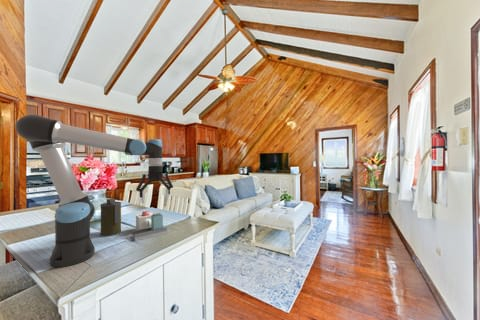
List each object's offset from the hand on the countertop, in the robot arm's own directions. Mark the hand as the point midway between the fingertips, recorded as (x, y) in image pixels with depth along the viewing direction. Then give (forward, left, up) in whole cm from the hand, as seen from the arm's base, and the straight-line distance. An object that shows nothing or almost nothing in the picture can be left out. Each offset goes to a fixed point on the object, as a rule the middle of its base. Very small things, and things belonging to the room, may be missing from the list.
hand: (155, 201), depth 116 cm
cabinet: (-3, +10, -19) cm, 21 cm away
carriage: (+1, -1, -17) cm, 17 cm away
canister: (-20, +17, -19) cm, 32 cm away
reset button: (-3, +10, -12) cm, 15 cm away
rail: (-3, -1, -19) cm, 19 cm away
